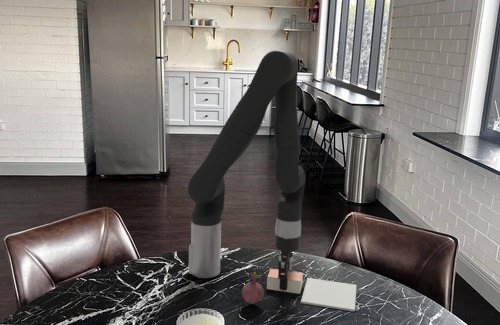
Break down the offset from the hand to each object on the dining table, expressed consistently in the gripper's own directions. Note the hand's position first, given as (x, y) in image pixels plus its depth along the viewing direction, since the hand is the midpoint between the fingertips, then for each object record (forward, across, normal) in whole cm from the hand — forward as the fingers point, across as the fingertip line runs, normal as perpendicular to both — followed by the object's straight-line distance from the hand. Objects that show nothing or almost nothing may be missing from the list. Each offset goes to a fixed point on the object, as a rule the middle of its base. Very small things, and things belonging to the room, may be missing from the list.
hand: (284, 284), depth 145 cm
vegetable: (+1, +13, -7) cm, 15 cm away
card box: (+1, 0, 0) cm, 1 cm away
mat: (+1, 0, +14) cm, 14 cm away
